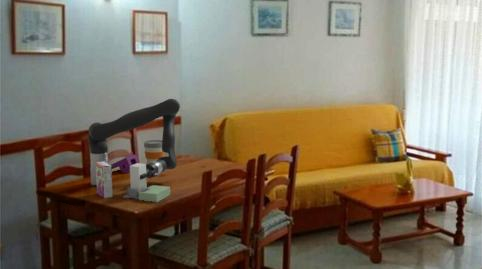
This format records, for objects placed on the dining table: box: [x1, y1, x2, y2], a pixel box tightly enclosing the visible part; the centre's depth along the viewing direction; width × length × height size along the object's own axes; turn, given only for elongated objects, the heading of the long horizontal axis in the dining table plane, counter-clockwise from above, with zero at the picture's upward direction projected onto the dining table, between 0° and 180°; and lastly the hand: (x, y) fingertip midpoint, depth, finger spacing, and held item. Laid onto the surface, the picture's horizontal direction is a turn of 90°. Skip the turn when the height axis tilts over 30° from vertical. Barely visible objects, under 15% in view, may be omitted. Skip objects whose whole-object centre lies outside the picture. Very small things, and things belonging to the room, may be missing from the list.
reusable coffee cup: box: [143, 139, 165, 164], centre depth 338 cm, size 13×12×15 cm
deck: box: [122, 184, 171, 203], centre depth 270 cm, size 14×19×4 cm
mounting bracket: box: [110, 154, 140, 174], centre depth 326 cm, size 9×8×18 cm
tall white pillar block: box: [129, 162, 148, 195], centre depth 270 cm, size 7×5×14 cm
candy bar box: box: [95, 162, 114, 200], centre depth 271 cm, size 11×5×16 cm, turn 33°
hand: (135, 177), depth 268 cm, fingers closed on tall white pillar block, 5 cm apart
